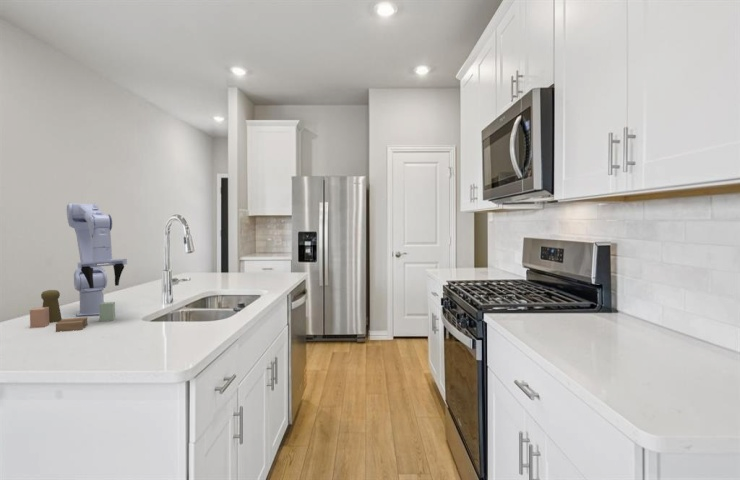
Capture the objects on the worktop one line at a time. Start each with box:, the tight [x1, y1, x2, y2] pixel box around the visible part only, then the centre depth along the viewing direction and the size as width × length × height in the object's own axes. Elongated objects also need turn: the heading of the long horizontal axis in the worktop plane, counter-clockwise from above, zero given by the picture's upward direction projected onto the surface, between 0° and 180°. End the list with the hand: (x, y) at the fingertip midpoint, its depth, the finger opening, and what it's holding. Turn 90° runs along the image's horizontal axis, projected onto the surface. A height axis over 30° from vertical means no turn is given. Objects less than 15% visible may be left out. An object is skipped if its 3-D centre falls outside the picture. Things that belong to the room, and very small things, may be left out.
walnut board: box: [55, 316, 89, 333], centre depth 135 cm, size 7×7×3 cm
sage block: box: [99, 301, 116, 322], centre depth 148 cm, size 4×4×6 cm
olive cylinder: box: [40, 289, 63, 324], centre depth 145 cm, size 6×6×11 cm
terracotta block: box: [29, 306, 50, 329], centre depth 138 cm, size 4×4×6 cm
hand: (104, 286), depth 144 cm, fingers open, 7 cm apart
